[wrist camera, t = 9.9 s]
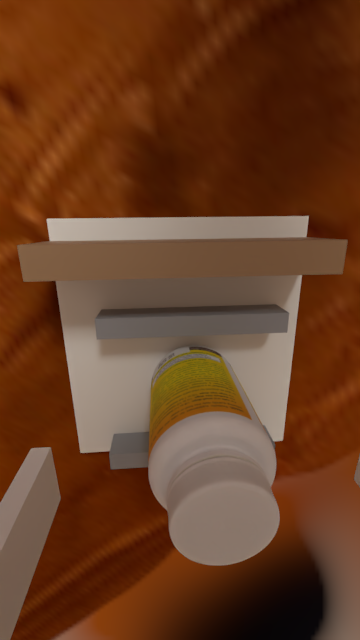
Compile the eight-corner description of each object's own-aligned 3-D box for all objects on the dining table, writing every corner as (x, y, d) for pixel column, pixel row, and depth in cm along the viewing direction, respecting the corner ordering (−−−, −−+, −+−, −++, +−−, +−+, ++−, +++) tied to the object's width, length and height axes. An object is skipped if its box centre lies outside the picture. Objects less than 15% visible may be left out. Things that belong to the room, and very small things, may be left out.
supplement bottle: (134, 376, 19) (110, 526, 10) (199, 325, 19) (246, 433, 9) (185, 428, 21) (209, 602, 11) (247, 383, 20) (332, 529, 10)
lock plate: (52, 219, 17) (11, 216, 12) (301, 216, 18) (352, 212, 13) (83, 443, 22) (63, 503, 17) (277, 431, 23) (308, 485, 18)
